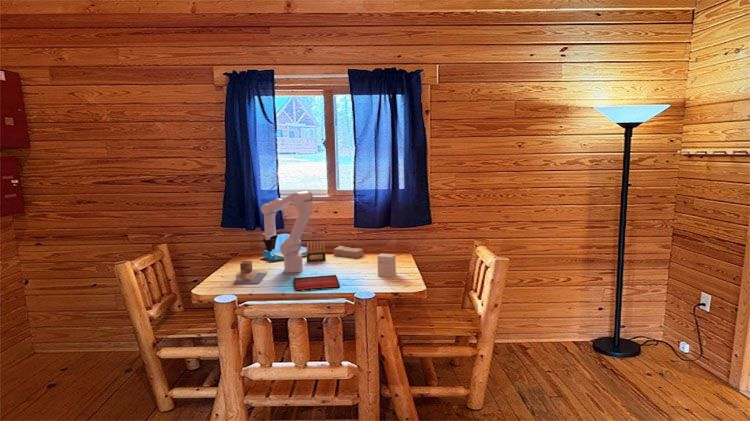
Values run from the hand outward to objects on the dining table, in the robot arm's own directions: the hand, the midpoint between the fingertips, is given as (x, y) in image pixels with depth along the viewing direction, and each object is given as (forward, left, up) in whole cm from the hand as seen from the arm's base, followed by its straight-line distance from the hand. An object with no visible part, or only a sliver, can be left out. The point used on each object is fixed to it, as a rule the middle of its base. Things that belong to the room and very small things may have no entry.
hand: (271, 249), depth 227 cm
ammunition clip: (-23, -10, -10) cm, 27 cm away
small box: (-62, +19, -10) cm, 66 cm away
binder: (-28, +31, -10) cm, 43 cm away
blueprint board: (+6, +21, -9) cm, 24 cm away
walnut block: (+8, +21, -6) cm, 23 cm away
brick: (-41, -21, -10) cm, 47 cm away
